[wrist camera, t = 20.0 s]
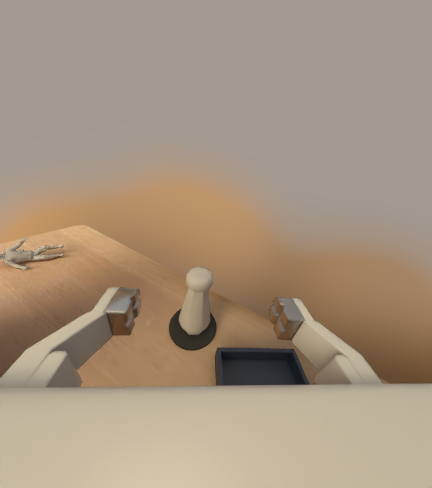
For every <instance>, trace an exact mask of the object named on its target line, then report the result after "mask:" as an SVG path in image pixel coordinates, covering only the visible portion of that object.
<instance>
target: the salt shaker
mask: <svg viewBox="0 0 432 488" xmlns="http://www.w3.org/2000/svg"><path fill="white" fill-rule="evenodd" d="M212 284H213V275H212V273H211V272H210V271H209V270H208V269H206V268H203V267H196V268H193V269H191V270H189V272H188V273H187V276H186V285H187V286H188V288H189V289H188V292H187V295H186V298H185V300H184V303H183V306H182V309H181V312H180V316H179V322H180V325H181V327H182V328H183V329H184V330H185V331H186V332H187V333H188V335H199V334H200V333H201V332H202V331H204V330H205V329H206V328H207V327H208V325H209V323H210V307H209V291H208V290H209V289H210V287H211V286H212Z"/></svg>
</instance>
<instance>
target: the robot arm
mask: <svg viewBox="0 0 432 488" xmlns="http://www.w3.org/2000/svg"><path fill="white" fill-rule="evenodd" d="M139 295H140V291H139V289H131V288H118V287H109V288H108V289H107V290H106V292H105V293H104V294H103V296H102V297H101V299H100V300H99V302H98V303H97V304H96V306H95V307H94V309H93V310H92V311H91V312H87V313H85V314H84V315H82V316H80V317H79V318H77V319H75V320H74V321H72V322H70V323H69V324H67V325H65V326H64V327H62V328H61V329H59V330H57V331H56V332H54V333H52V334H51V335H49V336H47V337H46V338H44V339H42V340H41V341H39V342H38V343H36V344H34V345H33V346H31V347H29V348H28V349H26V350H25V351H24V352H23V354H22V355H21V356H20V357H19V358H18V359H17V360H16V361H15V362H14V364H13V365H12V366H11V367H10V368H9V369H8V370H7V371H6V372H5V373H4V375H3V376H2V377H1V378H0V488H432V384H383V383H382V381H381V380H380V379H379V377H378V376H377V375H376V374H375V372H374V371H373V370H372V368H371V367H370V366H369V365H368V363H367V362H366V360H365V359H364V358H363V357H362V355H361V354H359V353H358V352H357V351H355V350H354V349H353V348H351V347H350V346H349V345H347V344H346V343H345V342H343V341H342V340H341V339H340V338H338V337H337V336H336V335H334V334H333V333H332V332H330V331H329V330H328V329H326V328H325V327H324V326H322V325H321V324H320V323H318V322H316V321H314V320H313V318H312V317H311V315H310V314H309V312H308V310H307V309H306V308H305V306H304V304H303V303H302V301H301V300H300V299H299V298H282V297H276V298H274V300H273V303H274V304H273V305H272V306H270V309H269V318H270V321H271V322H272V323H273V324H274V325H275V326H274V331H275V334H276V336H277V339H280V340H291V341H292V342H293V343H294V345H295V346H296V347H297V348H298V349H299V350H300V351H301V352H302V353H303V355H304V356H305V357H306V358H307V359H308V360H309V361H310V362H311V363H312V365H313V366H314V367H315V368H316V369H317V370H318V371H319V374H318V375H317V376H316V377H315V378H314V381H315V384H316V385H230V386H133V387H80V385H81V383H82V380H81V377H80V376H79V374H78V372H77V369H78V368H79V367H80V366H81V365H83V364H84V363H85V362H86V361H87V360H88V359H89V358H90V357H91V356H92V355H93V354H94V353H95V352H96V351H98V350H99V349H100V348H101V347H102V346H103V345H104V344H105V343H106V342H107V341H108V340H109V339H110V338H111V337H112V335H130V334H131V331H132V329H133V327H134V324H135V323H134V319H135V318H136V317H137V316H138V314H139V311H140V307H141V299H140V298H139Z"/></svg>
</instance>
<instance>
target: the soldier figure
mask: <svg viewBox="0 0 432 488" xmlns="http://www.w3.org/2000/svg"><path fill="white" fill-rule="evenodd" d="M25 239H28V238H24V239H22V240H21V241H19V242H18V243H17V244H15V245H14V246H12V247H10V248H8V249H6V250H4V252H3V253H2V254H0V259H3V262H4V263H6V264H8V265H10V266H13V267H14V268H18V269H25V268H27V266H21V265H19V264H17V263H15V262H14V261H17V262H23V261H38V260H47V259H51V258H54V257H57V256H61V257H63V254H56V255H39V254H41V253H42V252H45V251H46V250H50V249H55V248H63V244H62V245H59V246H47V245H46V246H43V247H40V248H37V249H36V250H34V251H24V250H18V251H15V250H16V249H18V248H19V247H20V246H21V245H22V244H23V243H24V242H26V241H25Z"/></svg>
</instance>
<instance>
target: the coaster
mask: <svg viewBox="0 0 432 488" xmlns="http://www.w3.org/2000/svg"><path fill="white" fill-rule="evenodd" d="M180 312H181V309H180V310H179V311H177V312H176V313H175V314H174V316H173V317H172V319H171V321H170V325H169V332H170V336H171V338H172V340H173V342H174V343H175V344H176V345H177V346H179V347H181V348H183V349H186V350H198V349H201V348H203V347H205V346H207V345H208V344H209V343H210V342H211V341H212V339H213V338H214V336H215V333H216V322H215V319H214V317H213V315H212V314H211V313H210V323H209V325H208V327H207V328H206V329H205V330H204V331H202V332H201V333H200V334H199V335H188V333H187V332H186V331H185V330H184V329H183V328H182V327H181V325H180V322H179V316H180Z"/></svg>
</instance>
